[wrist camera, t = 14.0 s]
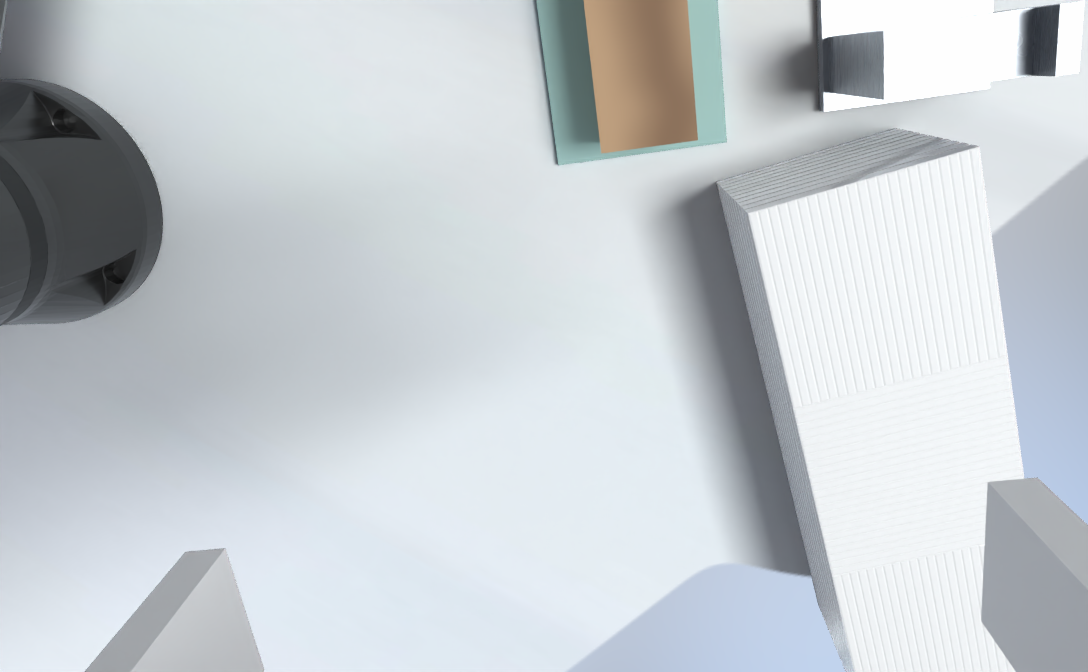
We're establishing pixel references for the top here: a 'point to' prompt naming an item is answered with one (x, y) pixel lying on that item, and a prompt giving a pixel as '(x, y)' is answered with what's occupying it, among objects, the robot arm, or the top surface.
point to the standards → (937, 47)
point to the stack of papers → (884, 385)
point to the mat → (576, 91)
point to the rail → (641, 72)
